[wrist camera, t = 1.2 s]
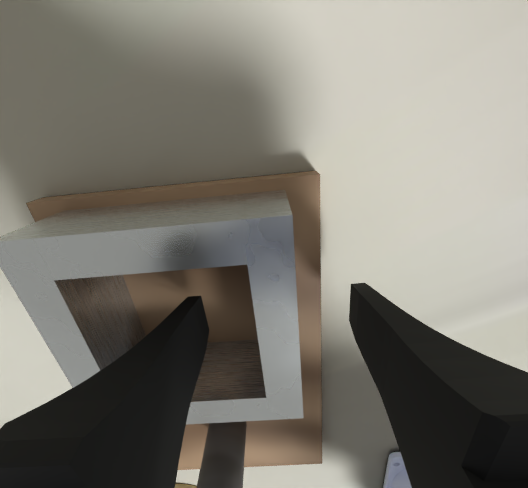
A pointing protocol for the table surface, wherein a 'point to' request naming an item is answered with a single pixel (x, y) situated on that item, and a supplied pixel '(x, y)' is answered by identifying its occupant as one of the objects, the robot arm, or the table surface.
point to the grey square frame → (158, 260)
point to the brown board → (233, 322)
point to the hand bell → (184, 486)
